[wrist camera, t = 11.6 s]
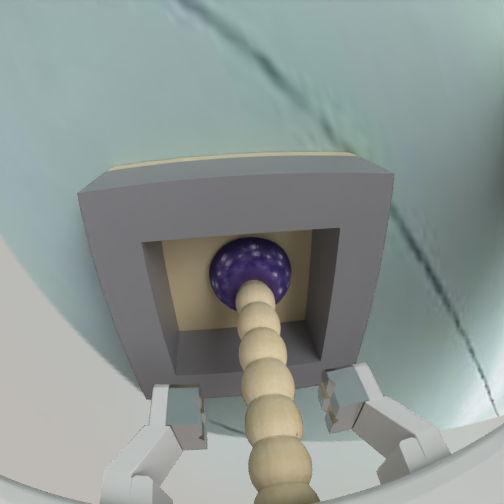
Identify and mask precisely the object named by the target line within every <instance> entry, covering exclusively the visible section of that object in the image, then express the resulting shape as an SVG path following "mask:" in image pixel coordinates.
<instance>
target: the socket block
mask: <svg viewBox="0 0 504 504" xmlns="http://www.w3.org/2000/svg"><path fill="white" fill-rule="evenodd" d="M393 181H394V173H392V172H390V171H388V170H386V169H384V168H382V167H380V166H378V165H375V164H373V163H371V162H369V161H367V160H365V159H363V158H361V157H358V156H356V155H354V154H352V153H349V152H266V153H242V154H225V155H211V156H198V157H187V158H177V159H168V160H159V161H151V162H143V163H135V164H128V165H121V166H115V167H112V168H111V169H109V170H108V171H106V172H105V173H104V174H102V175H101V176H100V177H98V178H97V179H96V180H94V181H93V182H92V183H90V184H89V185H88V186H86V187H85V188H84V189H82V190H81V191H80V192H79V193H77V195H78V200H79V205H80V209H81V214H82V218H83V222H84V227H85V231H86V235H87V239H88V242H89V246H90V250H91V254H92V257H93V261H94V264H95V268H96V271H97V274H98V278H99V281H100V284H101V287H102V290H103V293H104V296H105V299H106V302H107V305H108V308H109V311H110V314H111V316H112V319H113V322H114V325H115V327H116V330H117V332H118V335H119V338H120V340H121V343H122V345H123V348H124V350H125V353H126V355H127V357H128V360H129V362H130V364H131V367H132V369H133V371H134V373H135V376H136V378H137V380H138V382H139V384H140V387H141V389H142V391H143V393H144V395H145V397H146V399H152V393H153V388H154V386H155V384H200V386H201V389H202V397H204V398H216V397H230V396H242V390H241V382H242V377H243V374H244V370H243V368H242V366H241V364H240V360H239V346H240V343H241V339H240V337H239V335H238V330H237V321H238V317H239V314H238V312H237V311H235V310H233V309H230V308H228V307H227V306H226V305H225V304H223V303H222V302H221V301H220V300H219V299H218V297H217V296H216V295H215V293H214V291H213V289H212V286H211V282H210V277H209V270H210V265H211V262H212V260H213V258H214V256H215V255H216V254H217V252H218V251H219V250H220V249H221V248H222V247H223V246H225V245H226V244H228V243H230V242H231V241H234V240H237V239H239V238H246V237H258V238H264V239H268V240H270V241H272V242H275V243H276V244H278V245H279V246H280V247H281V248H282V249H283V250H284V251H285V253H286V254H287V256H288V259H289V261H290V264H291V270H292V273H291V282H290V285H289V288H288V290H287V292H286V294H285V295H284V297H283V298H282V300H281V301H280V302H279V303H278V304H276V305H275V312H276V313H277V315H278V317H279V320H280V326H281V331H280V337H281V338H282V339H283V341H284V343H285V346H286V350H287V363H286V367H287V368H288V369H289V371H290V373H291V375H292V377H293V380H294V385H295V389H298V388H304V387H310V386H316V385H319V384H320V383H321V382H322V378H321V374H322V371H323V370H325V369H330V368H335V367H340V366H345V365H352V364H356V360H357V357H358V354H359V350H360V347H361V343H362V340H363V336H364V333H365V329H366V325H367V321H368V317H369V313H370V309H371V305H372V301H373V297H374V293H375V288H376V284H377V279H378V274H379V270H380V265H381V260H382V254H383V249H384V243H385V238H386V232H387V226H388V219H389V212H390V205H391V198H392V190H393Z"/></svg>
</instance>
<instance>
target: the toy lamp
mask: <svg viewBox="0 0 504 504" xmlns="http://www.w3.org/2000/svg"><path fill="white" fill-rule="evenodd" d="M291 273H292V270H291V264H290V261H289V259H288V256H287V254H286V253H285V251H284V250H283V249H282V248H281V247H280V246H279V245H278V244H276V243H275V242H272V241H270V240H268V239H264V238H258V237H246V238H239V239H237V240H234V241H231V242H230V243H228V244H226V245H225V246H223V247H222V248H221V249H220V250H219V251H218V252H217V254H216V255H215V256H214V258H213V260H212V262H211V265H210V270H209V277H210V282H211V286H212V289H213V291H214V293H215V295H216V296H217V297H218V299H219V300H220V301H221V302H222V303H223V304H225V305H226V306H227V307H228V308H230V309H233V310H235V311H237V312H238V314H239V317H238V321H237V330H238V335H239V337H240V339H241V343H240V346H239V360H240V364H241V366H242V368H243V370H244V374H243V377H242V382H241V390H242V395H243V398H244V401H245V403H246V405H247V406H248V410H247V412H246V416H245V431H246V436H247V439H248V441H249V443H250V444H251V445H252V447H253V449H252V451H251V454H250V457H249V475H250V479H251V481H252V484H253V485H254V487H255V488H256V490H257V491H258V494H257V496H256V498H255V501H254V504H312V503H317V502H320V500H319V498H318V496H317V494H316V493H315V491H314V490H313V489H312V488H311V487H310V486H309V483H310V480H311V477H312V462H311V457H310V455H309V453H308V451H307V449H306V447H305V446H304V445H303V444H302V443H301V442H300V440H301V437H302V433H303V422H302V418H301V414H300V412H299V410H298V408H297V406H296V405H295V404H294V403H293V399H294V394H295V385H294V380H293V377H292V375H291V373H290V371H289V369H288V368H287V367H286V363H287V350H286V346H285V343H284V341H283V339H282V338H281V337H280V331H281V326H280V320H279V317H278V315H277V313H276V312H275V305H276V304H278V303H279V302H280V301H281V300H282V298H283V297H284V295H285V294H286V292H287V290H288V288H289V285H290V282H291Z"/></svg>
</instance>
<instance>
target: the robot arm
mask: <svg viewBox="0 0 504 504" xmlns="http://www.w3.org/2000/svg"><path fill="white" fill-rule="evenodd" d="M321 378H322V382H321V383H320V384H319V389H318V397H319V402H320V406H321V409H323V410H324V411H326V416H325V421H326V424H327V427H328V431H329V434H331V433H336V432H341V431H345V430H350V429H352V430H353V431H354V432H355V433H356V434H357V435H359V436H360V437H361V438H362V439H363V440H364V441H366V442H367V443H368V444H369V445H370V446H372V447H373V448H374V449H375V450H376V451H378V452H379V453H380V454H381V455H383V456H384V457H385V458H386V460H385V461H384V462H383V464H382V465H381V466H380V467H379V468H378V470H377V474H378V477H379V480H380V483H381V485H378V486H376V487H372V488H369V489H366V490H363V491H360V492H356V493H353V494H349V495H346V496H342V497H338V498H335V499H331V500H326V501H322V502H317V503H312V504H504V423H503V424H502V425H500V426H499V427H497V428H496V429H494V430H493V431H491V432H490V433H488V434H487V435H485V436H483V437H481V438H480V439H478V440H476V441H475V442H473V443H471V444H470V445H468V446H466V447H464V448H463V449H461V450H459V451H457V452H455V453H453V454H451V453H450V451H449V449H448V447H447V445H446V443H445V441H444V439H443V437H442V436H441V433H440V431H439V430H438V428H437V426H436V425H434V424H432V423H431V422H429V421H427V420H426V419H424V418H422V417H421V416H419V415H417V414H416V413H414V412H412V411H411V410H409V409H408V408H406V407H404V406H403V405H401V404H399V403H398V402H396V401H395V400H393V399H391V398H390V397H388V396H385V397H383V395H382V393H381V391H380V389H379V387H378V385H377V383H376V381H375V379H374V377H373V375H372V373H371V371H370V369H369V367H368V365H367V363H365V362H361V363H357V364H352V365H345V366H340V367H335V368H330V369H325V370H323V371H322V374H321ZM206 422H207V421H206V407H205V401H204V397H202V389H201V386H200V384H155V386H154V388H153V393H152V401H151V409H150V418H149V425H145V426H143V427H142V429H141V430H140V431H139V432H138V433H137V434H136V435H135V437H134V438H133V439H132V440H131V441H130V442H129V443H128V444H127V445H126V447H125V448H124V449H123V450H122V451H121V452H120V453H119V454H118V455H117V456H116V458H115V459H114V460H113V461H112V462H111V463H110V464H109V465H108V466H107V467H106V468H105V470H104V474H103V481H102V488H101V497H100V504H173V500H172V499H171V498H170V497H169V496H168V495H167V494H166V493H165V492H164V491H163V490H162V489H161V488H160V485H161V484H162V482H163V481H164V479H165V478H166V476H167V475H168V473H169V472H170V470H171V469H172V467H173V466H174V464H175V463H176V461H177V460H178V458H179V457H180V455H181V454H182V452H183V451H182V450H199V449H207V432H206V428H205V423H206ZM0 504H90V503H85V502H81V501H77V500H73V499H69V498H65V497H62V496H58V495H55V494H51V493H48V492H45V491H42V490H39V489H36V488H32V487H30V486H27V485H24V484H22V483H19V482H16V481H14V480H11V479H9V478H6V477H4V476H2V475H0Z"/></svg>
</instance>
